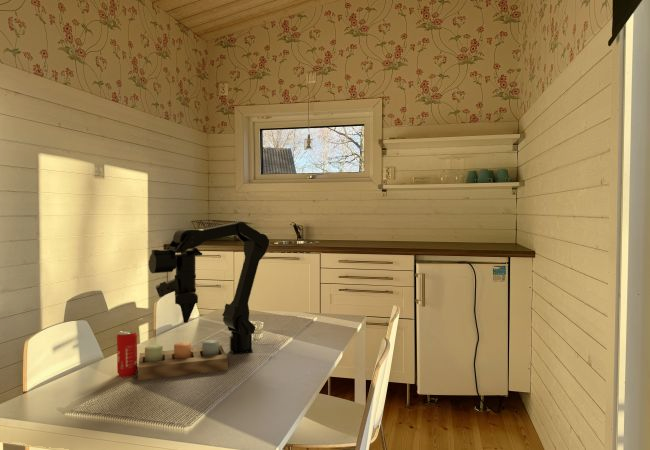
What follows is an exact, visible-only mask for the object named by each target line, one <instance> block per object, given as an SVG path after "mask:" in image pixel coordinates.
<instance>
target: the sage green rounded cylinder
mask: <svg viewBox="0 0 650 450" xmlns="http://www.w3.org/2000/svg"><path fill="white" fill-rule="evenodd" d="M201 345H202V346H201V347H202V356H203V357H204V356H213V355H219V346H220V341H219V340H217V339H207V340H203V341H202V342H201Z"/></svg>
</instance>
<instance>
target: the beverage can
mask: <svg viewBox="0 0 650 450" xmlns="http://www.w3.org/2000/svg"><path fill="white" fill-rule="evenodd" d="M116 356H117V357H116V358H117V361H116V363H117V364H116V365H117V367H116V368H117V375H118V377H120V378H131V377H133V376H136V374H137V373H138V334H137V331H136V330H133V329H132V330H131V329H130V330H129V329H128V330H122V331H118V332H117V335H116Z"/></svg>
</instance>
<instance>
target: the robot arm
mask: <svg viewBox="0 0 650 450" xmlns="http://www.w3.org/2000/svg"><path fill="white" fill-rule="evenodd" d="M231 236H236V237H237V238H238V239H239V241H240V242H242V243H243V252H244V253H243V254H244V260H243V264H242V268H241V270H240V271H241V272H240V274H239V279H238V283H237V287H236V290H235V294H234V297H233V300H232V301H231V302H230V303H225V305H224V311H223V313H222V314H221V316H222V321H223V323H224V325H225V326H226V327H227V330H228V331H229V332H230V335H229V337H228V338H229V339H228V340H229V342H228V343H229V350H230V351H231V353H232V354H233V355H235V354H236V355H237V354H246V353H253V352H254V350H253V347H252V346H253V345H252V342H253V341H252V340H253V339H252V336H253V334H254V333H255V331H256V326H255V325H254V324H253V323H252V322H251V321H250V308H249V300H250V296H251V293H252V289H253V286H254V282H255V279H256V278H255V277H256V275H257V270H258V267H259V264H260V261H261V260H262V258H263V257H264V256H265V255H266V252H267V251H268V248H269V246H270V239H269V238H268V236H267V235H266V234H264V233H261V232H259V231H258V230H256V229H254V228H252V227H251V226H249V225H248V224H247V223H245V222H244V221H234V222H231V223H225V224H219V225H216V226H210V227H205V228H201V229H199V228H198V229H197V228H196V229H195V228H193V229H192V228H191V229H190V228H188V229H186V228H185V229H183V228H182V229H178V230H176V231H175V232H174V234H173V236H172V240H171V241H170V243H169V245H168V246H167V247H166V248H165V249H151V254H150V255H149V260H148V269H149V272H150V273H151V274H163V273H164V274H165V273H172V272H173V271H174V270H175V274H174V278H173V279H170V280H168V281H166V280H165V281H163V282H159V284H157V285H156V286H155V290H156V292H157V294H158V298H162V297H165V296H166V295H168V294H171V293H173V292H174V302H175V303H174V304H175V305H178V306H179V307H180V311H181V315H182V321H183V323H184V324H188V322H189V321H190V318H191V315H192V312H193V311H194V308H195V306H196V304H198V303H199V296H198V294H197V293H196V292H197V288H196V278H197V273H196V257H199V256H203V252H201V251H200V250H199V249H198V248H197V247H199V246H202V245H203V244H204V243H206V242H210V241H213V240H217V239H223V238H226V237H231Z"/></svg>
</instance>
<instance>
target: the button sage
mask: <svg viewBox="0 0 650 450" xmlns="http://www.w3.org/2000/svg"><path fill="white" fill-rule="evenodd" d="M163 349H164V348H163V345H161V344H152V345H147V346H145V347H144V353H145V362H155V361H163V351H164V350H163Z"/></svg>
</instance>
